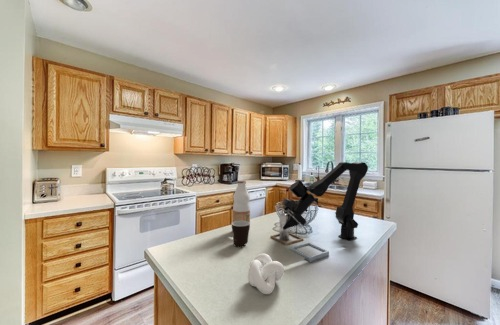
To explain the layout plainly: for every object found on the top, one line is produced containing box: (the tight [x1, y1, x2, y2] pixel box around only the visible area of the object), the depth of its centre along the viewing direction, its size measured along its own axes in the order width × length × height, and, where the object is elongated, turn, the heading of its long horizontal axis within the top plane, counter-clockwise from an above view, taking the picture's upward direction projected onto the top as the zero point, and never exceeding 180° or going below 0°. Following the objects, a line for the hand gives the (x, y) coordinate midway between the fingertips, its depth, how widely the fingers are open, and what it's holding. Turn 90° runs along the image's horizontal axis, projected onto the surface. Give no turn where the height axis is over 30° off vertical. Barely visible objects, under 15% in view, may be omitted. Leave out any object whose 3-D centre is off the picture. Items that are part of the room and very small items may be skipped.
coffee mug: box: [230, 221, 251, 248], centre depth 103 cm, size 12×9×10 cm
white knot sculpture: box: [247, 253, 285, 295], centre depth 69 cm, size 11×12×9 cm
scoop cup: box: [278, 212, 290, 241], centre depth 106 cm, size 5×5×12 cm
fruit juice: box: [232, 179, 251, 231], centre depth 119 cm, size 9×9×28 cm
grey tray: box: [289, 241, 330, 264], centre depth 92 cm, size 11×11×2 cm
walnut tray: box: [270, 232, 304, 246], centre depth 106 cm, size 11×11×2 cm
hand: (281, 227), depth 106 cm, fingers closed on scoop cup, 5 cm apart
